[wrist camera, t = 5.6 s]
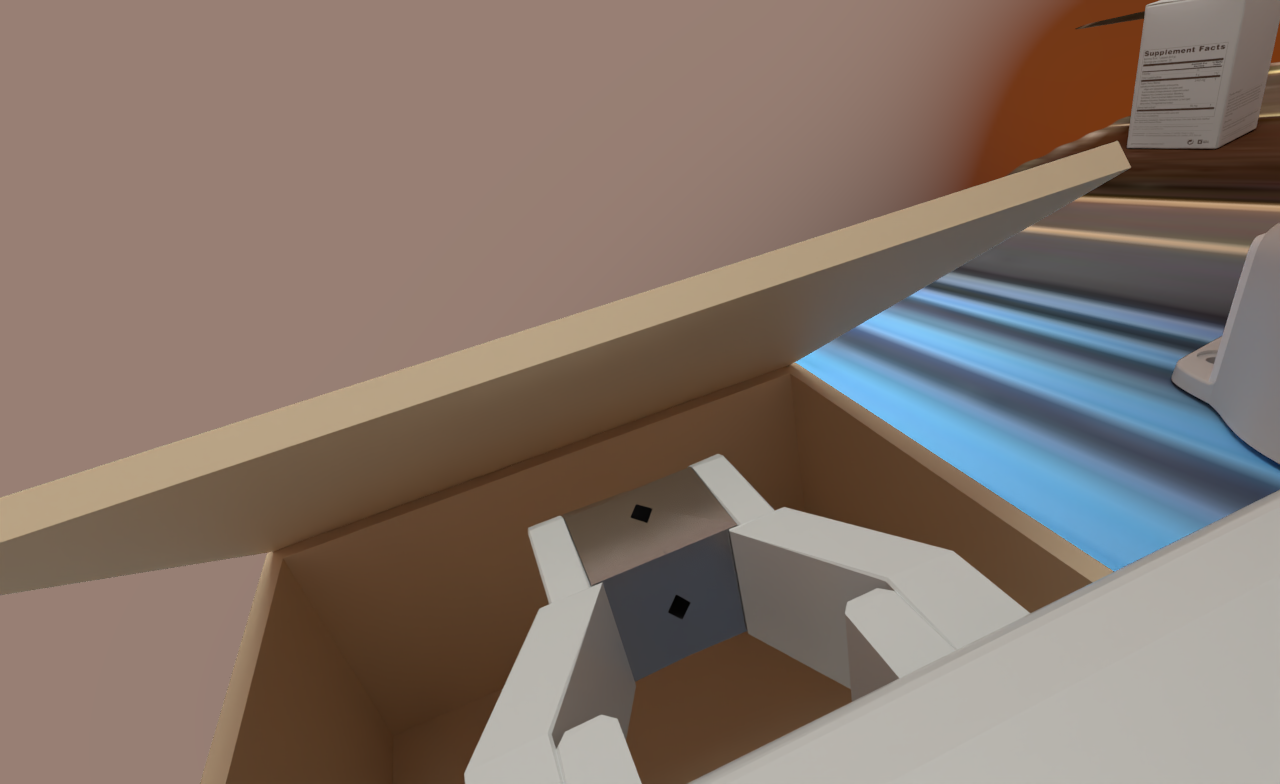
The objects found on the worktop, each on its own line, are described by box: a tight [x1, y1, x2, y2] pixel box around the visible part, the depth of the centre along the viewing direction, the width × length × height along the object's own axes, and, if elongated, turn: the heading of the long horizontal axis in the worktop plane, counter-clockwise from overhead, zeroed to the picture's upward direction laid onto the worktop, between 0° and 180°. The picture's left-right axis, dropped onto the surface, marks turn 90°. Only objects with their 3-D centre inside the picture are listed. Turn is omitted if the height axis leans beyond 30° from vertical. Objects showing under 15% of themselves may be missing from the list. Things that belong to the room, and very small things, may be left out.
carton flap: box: [0, 141, 1131, 595], centre depth 16 cm, size 15×20×1 cm
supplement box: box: [1127, 0, 1280, 149], centre depth 70 cm, size 9×9×15 cm
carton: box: [200, 363, 1114, 784], centre depth 19 cm, size 16×20×10 cm
